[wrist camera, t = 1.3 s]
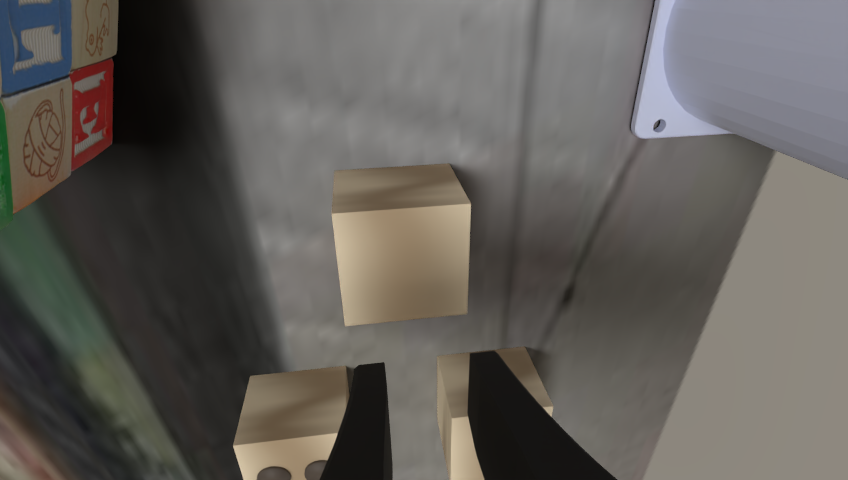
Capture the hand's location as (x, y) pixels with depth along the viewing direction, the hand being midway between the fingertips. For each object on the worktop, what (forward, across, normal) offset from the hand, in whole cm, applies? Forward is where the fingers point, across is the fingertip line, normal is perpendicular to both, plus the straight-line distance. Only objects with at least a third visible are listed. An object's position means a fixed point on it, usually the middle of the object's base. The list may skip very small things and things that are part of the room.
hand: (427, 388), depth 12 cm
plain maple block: (+10, 0, 0) cm, 10 cm away
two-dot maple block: (+10, +5, +10) cm, 15 cm away
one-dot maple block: (+10, -4, +10) cm, 14 cm away
